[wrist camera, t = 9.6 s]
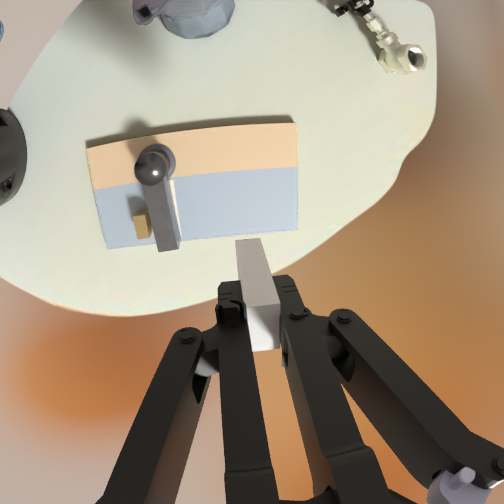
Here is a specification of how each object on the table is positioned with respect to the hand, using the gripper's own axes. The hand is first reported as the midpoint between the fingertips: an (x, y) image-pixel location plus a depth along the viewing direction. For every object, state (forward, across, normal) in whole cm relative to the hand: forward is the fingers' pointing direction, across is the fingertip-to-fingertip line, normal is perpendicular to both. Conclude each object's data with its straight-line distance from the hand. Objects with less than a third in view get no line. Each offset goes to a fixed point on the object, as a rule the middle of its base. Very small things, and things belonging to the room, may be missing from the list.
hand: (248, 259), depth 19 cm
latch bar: (+19, -9, -1) cm, 21 cm away
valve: (+21, +19, +20) cm, 34 cm away
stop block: (+19, -12, -4) cm, 23 cm away
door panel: (+20, -5, 0) cm, 21 cm away
